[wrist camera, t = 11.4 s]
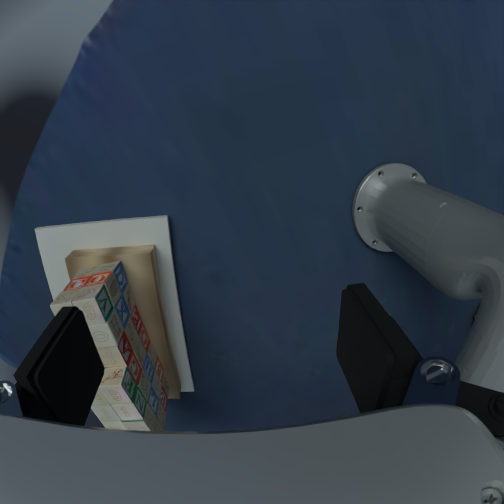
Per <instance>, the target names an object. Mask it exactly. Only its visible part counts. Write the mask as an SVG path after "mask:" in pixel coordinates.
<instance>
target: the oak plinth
mask: <svg viewBox="0 0 504 504" xmlns="http://www.w3.org/2000/svg"><path fill="white" fill-rule="evenodd" d="M116 261H121V263H122V266H123V269H124V272H125V274H126V277H127V280H128V283H129V285H130V288H131V291H132V294H133V297H134V299H135V302H136V303H135V304H136V307H137V309H138V312H139V314H140V317H141V319H142V322H143V323H144V326H145V328H146V331H147V333H148V336H149V338H150V340H151V341H152V343H153V346H154V348H155V350H156V353H157V356H158V358H159V360H160V362H161V364H162V367H163V369H164V372H165V374H166V377H167V379H168V381H169V383H170V386H169V396H168V398H167V399H180V393H181V382H180V378H179V374H178V369H177V365H176V360H175V356H174V351H173V346H172V342H171V337H170V332H169V327H168V321H167V316H166V311H165V305H164V300H163V294H162V288H161V282H160V276H159V269H158V263H157V256H156V249H155V245H141V246H125V247H110V248H95V249H80V250H73V251H72V252H71V253H70V254H69V255H68V256H67V257H66V258H65V262H66V266H67V270H68V274H69V278H70V281H71V280H72V279H73V278H74V277H75V275H76V274H77V273H78V272H79V270H81V269H83V268H86V267H91V266H96V265H101V264H107V263H111V262H116Z"/></svg>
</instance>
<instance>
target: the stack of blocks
mask: <svg viewBox="0 0 504 504" xmlns="http://www.w3.org/2000/svg"><path fill="white" fill-rule="evenodd" d="M135 303H136V302H135V299H134V297H133V294H132V291H131V288H130V285H129V283H128V280H127V277H126V274H125V272H124V269H123V266H122V263H121V261H116V262H111V263H107V264H101V265H96V266H91V267H86V268H83V269H81V270H79V272H78V273H77V274H76V275H75V277H74V278H73V279H72V280H71V281H70V282H69V283H68V285H67V286H66V287H65V288H64V290H63V291H62V292H61V293H59V295H58V296H57V297H56V298H55V300H54V301H53V302H52V303H51V305H50V307H51V310H52V312H53V314H54V316H56V314H57V313H58V312H59V310H60V309H61V308H62V307H65V306H76V307H78V308H79V310H82V311H83V313H84V316H85V319H86V322H87V324H88V327H89V330H90V332H91V335H92V338H93V340H94V343H95V345H96V348H97V350H98V353H99V355H100V358H101V360H102V362H103V365H104V376H103V378H102V381H101V383H100V386H99V388H98V391H97V393H96V396H95V398H94V401H93V403H92V406H91V409H92V410H93V412H94V413H95V414H96V416H97V417H98V418H99V419H100V420H101V423H102V424H103V425H104V426H105V428H108V429H121V430H137V431H162V432H164V428H165V420H166V408H167V398H168V396H169V386H170V383H169V381H168V379H167V377H166V374H165V372H164V369H163V367H162V364H161V362H160V360H159V358H158V356H157V353H156V350H155V348H154V346H153V343H152V341H151V340H150V338H149V336H148V333H147V331H146V328H145V326H144V323H143V322H142V319H141V317H140V314H139V312H138V309H137V307H136V304H135Z"/></svg>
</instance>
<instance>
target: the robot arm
mask: <svg viewBox="0 0 504 504" xmlns="http://www.w3.org/2000/svg"><path fill="white" fill-rule="evenodd" d="M378 172H379V175H378ZM358 207H359V209H358V210H357V208H358ZM352 217H353V222H354V226H355V229H356V231H357V233H358V235H359V236H360V237H361V239H362V240H363V241H364V242H365V243H366V244H368V245H369V246H370V247H372V248H373V249H376V250H379V251H383V252H395V253H396V254H397V255H399V256H400V257H401V258H402V259H403V260H405V261H406V262H407V263H408V264H409V265H411V266H412V267H413V268H414V269H415V270H416V271H418V272H419V273H420V274H421V275H422V276H423V277H424V278H426V279H427V280H428V281H429V282H430V283H431V284H433V285H434V286H435V287H436V288H437V289H438V290H440V291H441V292H442V293H443V294H445V295H446V296H448V297H450V298H453V299H457V300H473V299H478V298H482V299H481V303H480V306H479V308H478V311H477V314H476V316H475V319H474V322H473V324H472V327H471V329H470V331H469V333H468V335H467V337H466V339H465V341H464V343H463V345H462V347H461V349H460V351H459V353H458V355H457V357H456V359H455V361H454V362H452V361H450V360H448V359H446V358H443V357H436V356H434V357H427V358H425V359H423V358H422V357H421V355H420V354H419V352H418V351H417V350H416V348H415V347H414V346H413V344H412V343H411V342H410V340H409V339H408V337H407V336H406V335H405V333H404V332H403V331H402V329H401V328H400V327H399V325H398V324H397V323H396V321H395V320H394V319H393V318H392V317H391V316H389V315H388V313H387V312H386V311H385V310H384V308H383V307H382V306H381V304H380V303H379V302H378V300H377V299H376V298H375V297H374V295H373V294H372V293H371V291H370V290H369V289H368V288H367V286H366V285H365V284H364V283H360V284H352V285H348V286H347V288H346V289H345V290H342V296H341V308H340V320H339V330H338V340H337V350H336V352H337V358H338V361H339V363H340V366H341V368H342V370H343V373H344V375H345V377H346V380H347V382H348V384H349V387H350V389H351V391H352V394H353V396H354V399H355V401H356V403H357V406H358V408H359V411H360V413H359V414H354V415H348V416H343V417H337V418H332V419H326V420H319V421H312V422H306V423H299V424H292V425H284V426H275V427H266V428H255V429H242V430H226V431H200V432H162V431H137V430H121V429H108V428H98V427H88V426H84V425H85V422H86V419H87V417H88V414H89V411H90V409H91V406H92V403H93V401H94V398H95V396H96V393H97V391H98V388H99V386H100V383H101V381H102V378H103V376H104V365H103V362H102V360H101V358H100V355H99V353H98V350H97V348H96V345H95V343H94V340H93V338H92V335H91V332H90V330H89V327H88V324H87V322H86V319H85V316H84V313H83V311H82V310H79V308H78V307H76V306H65V307H62V308H61V309H60V310H59V312H58V313H57V314H56V316H55V317H54V318H53V320H52V321H51V322H50V324H49V325H48V326H47V328H46V329H45V330H44V332H43V333H42V335H41V336H40V337H39V339H38V340H37V341H36V343H35V344H34V346H33V347H32V349H31V350H30V351H29V353H28V354H27V356H26V357H25V359H24V360H23V362H22V363H21V365H20V366H19V368H18V369H17V371H16V372H15V374H14V377H15V379H16V381H17V383H16V384H15V385H14V383H12V382H10V381H7V380H6V381H0V504H504V215H502V214H499V213H497V212H494V211H492V210H489V209H487V208H485V207H482V206H480V205H478V204H475V203H473V202H471V201H468V200H466V199H464V198H461V197H459V196H456V195H454V194H451V193H449V192H446V191H444V190H441V189H438V188H436V187H433V186H431V185H428V184H427V183H426V181H425V180H424V178H423V177H422V176H421V174H420V173H419V172H418V171H416V170H415V169H414V168H412V167H410V166H408V165H405V164H401V163H387V164H383V165H381V166H378V167H376V168H375V169H373V170H372V171H370V172H369V173H368V174H367V175H366V176H365V177H364V179H363V180H362V181H361V183H360V184H359V186H358V188H357V190H356V193H355V196H354V200H353V206H352Z"/></svg>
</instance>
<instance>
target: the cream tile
mask: <svg viewBox="0 0 504 504" xmlns="http://www.w3.org/2000/svg"><path fill="white" fill-rule="evenodd" d="M35 233H36V237H37V242H38V246H39V250H40V254H41V258H42V262H43V266H44V270H45V273H46V277H47V280H48V284H49V287H50V290H51V294H52V297H53V300H55V298H56V297H57V296H58V295H59V293H61V292H62V291H63V290H64V288H65V287H66V286H67V285H68V283H69V282H70V278H69V274H68V270H67V266H66V262H65V258H66V257H67V256H68V255H69V254H70V253H71V252H72V251H73V250H80V249H95V248H110V247H125V246H141V245H155V249H156V256H157V263H158V269H159V276H160V282H161V288H162V294H163V300H164V305H165V311H166V316H167V321H168V327H169V332H170V337H171V342H172V346H173V351H174V356H175V360H176V365H177V369H178V374H179V378H180V382H181V392H194V390H195V388H194V383H193V378H192V373H191V368H190V363H189V357H188V352H187V346H186V341H185V335H184V329H183V323H182V317H181V311H180V304H179V298H178V291H177V284H176V277H175V269H174V262H173V254H172V246H171V237H170V228H169V219H168V215H165V216H152V217H139V218H127V219H115V220H104V221H93V222H83V223H73V224H64V225H54V226H46V227H37V228H36V229H35Z"/></svg>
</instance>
